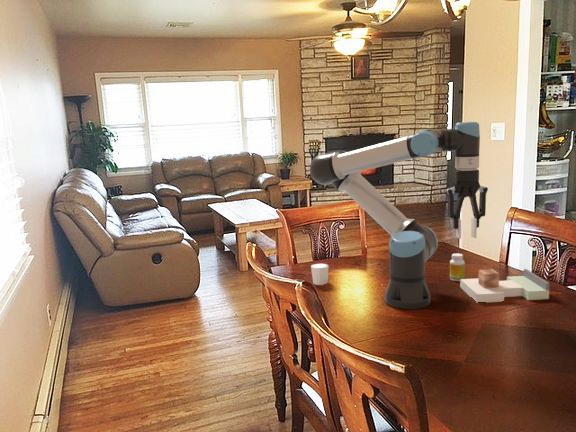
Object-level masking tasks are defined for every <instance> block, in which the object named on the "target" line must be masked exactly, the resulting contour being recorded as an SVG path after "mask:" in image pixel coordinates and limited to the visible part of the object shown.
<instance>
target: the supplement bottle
mask: <svg viewBox="0 0 576 432" xmlns="http://www.w3.org/2000/svg"><path fill="white" fill-rule="evenodd" d="M465 267H466V263H465V260H464V254H462V253H459V252H457V253H452V254H451V260H450V259H449V279H450V280H451V281H454V282H460V279H466V278H465V276H466V275H465V271H466V270H465V269H466V268H465Z"/></svg>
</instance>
